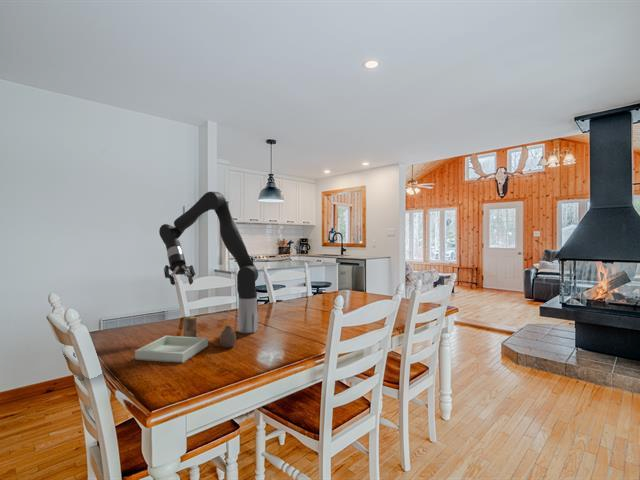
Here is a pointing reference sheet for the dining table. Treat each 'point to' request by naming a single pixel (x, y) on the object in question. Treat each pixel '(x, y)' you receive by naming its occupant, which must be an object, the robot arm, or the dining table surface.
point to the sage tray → (171, 349)
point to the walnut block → (189, 326)
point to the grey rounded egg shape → (227, 337)
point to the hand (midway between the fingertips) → (182, 284)
